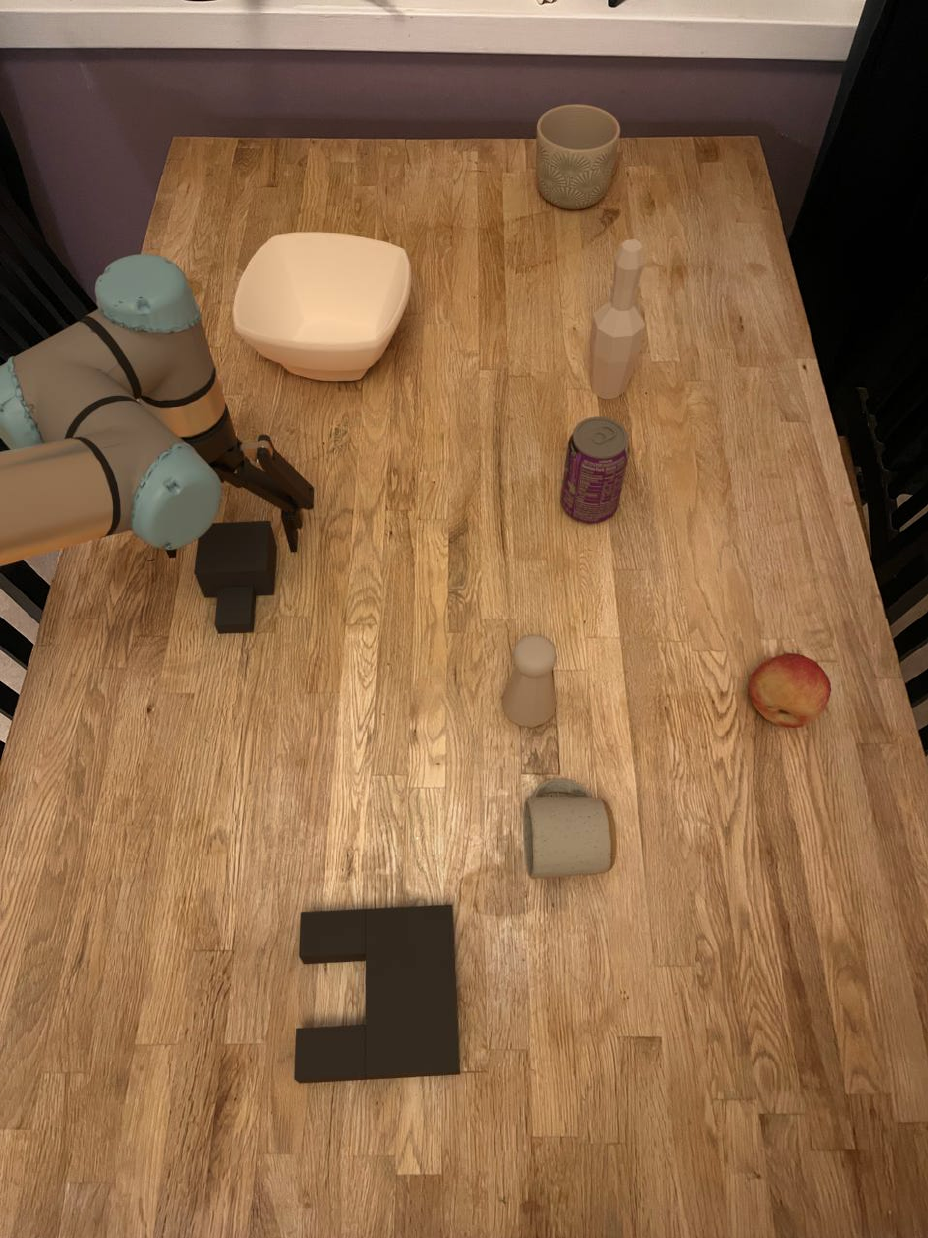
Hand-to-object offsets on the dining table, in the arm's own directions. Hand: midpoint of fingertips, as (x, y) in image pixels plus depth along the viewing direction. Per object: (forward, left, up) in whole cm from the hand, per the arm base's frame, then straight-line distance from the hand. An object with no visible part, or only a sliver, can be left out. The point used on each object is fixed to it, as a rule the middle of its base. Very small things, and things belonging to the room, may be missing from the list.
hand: (234, 545), depth 108 cm
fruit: (+59, -21, -5) cm, 63 cm away
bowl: (+10, +36, -5) cm, 37 cm away
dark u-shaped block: (+16, -48, -5) cm, 51 cm away
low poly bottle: (+47, +28, -5) cm, 55 cm away
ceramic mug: (+34, -34, -5) cm, 48 cm away
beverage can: (+42, +8, -5) cm, 43 cm away
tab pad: (0, -3, -5) cm, 6 cm away
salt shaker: (+32, -20, -5) cm, 38 cm away
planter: (+47, +71, -5) cm, 85 cm away
